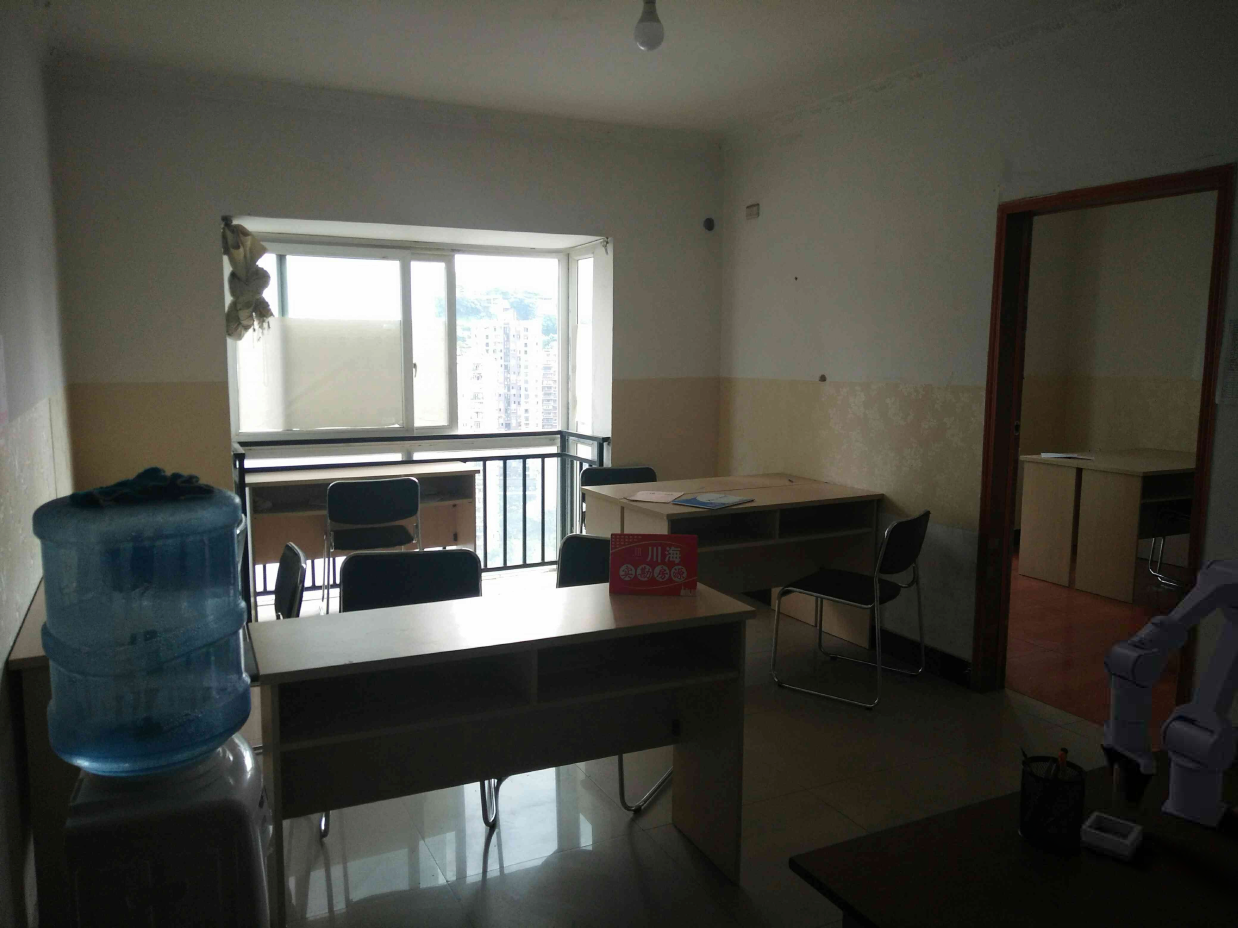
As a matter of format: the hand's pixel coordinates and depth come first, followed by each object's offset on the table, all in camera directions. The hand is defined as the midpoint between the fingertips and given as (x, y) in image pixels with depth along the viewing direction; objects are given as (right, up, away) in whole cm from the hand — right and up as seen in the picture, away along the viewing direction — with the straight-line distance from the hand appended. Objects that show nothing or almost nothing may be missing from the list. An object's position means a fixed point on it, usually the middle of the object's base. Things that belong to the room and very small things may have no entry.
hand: (1126, 794), depth 145 cm
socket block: (-5, -6, -5) cm, 10 cm away
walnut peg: (0, -2, 0) cm, 2 cm away
